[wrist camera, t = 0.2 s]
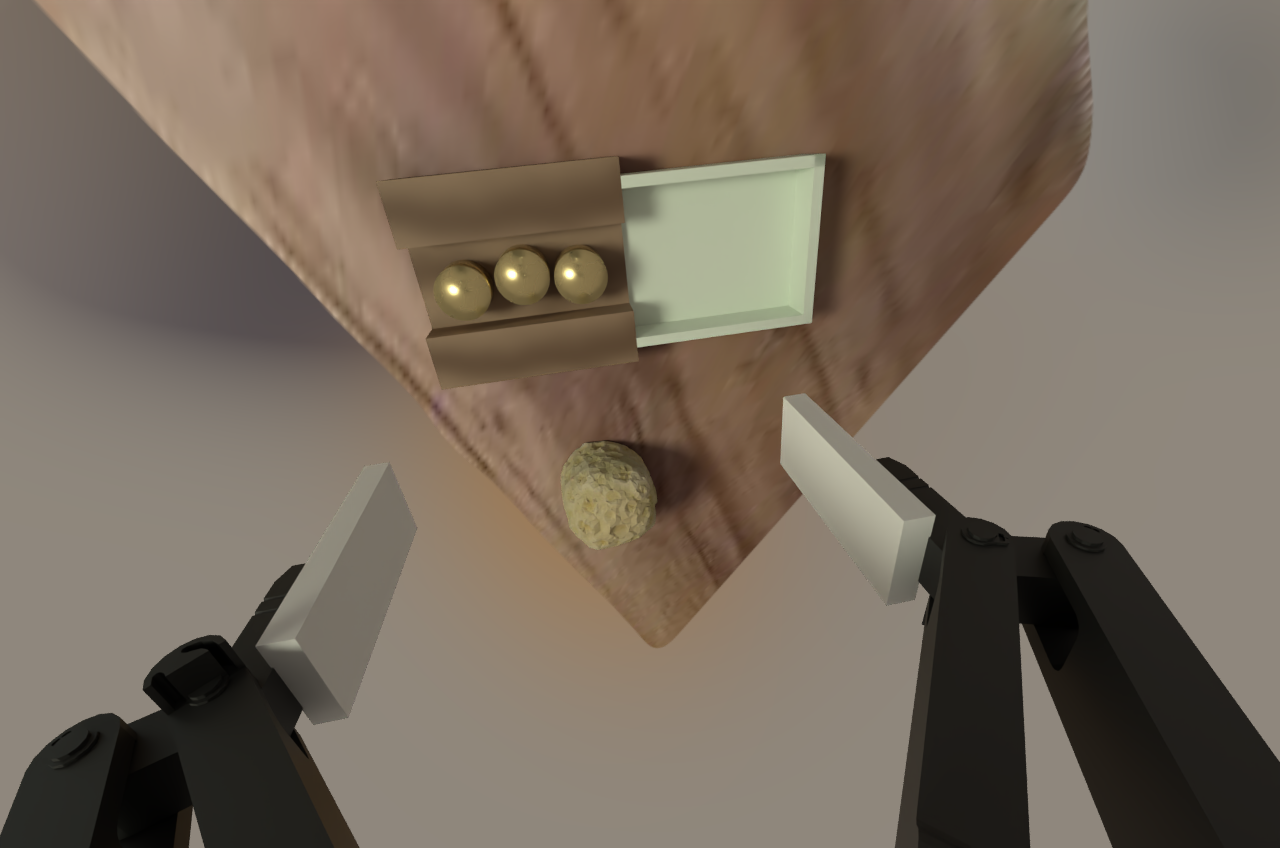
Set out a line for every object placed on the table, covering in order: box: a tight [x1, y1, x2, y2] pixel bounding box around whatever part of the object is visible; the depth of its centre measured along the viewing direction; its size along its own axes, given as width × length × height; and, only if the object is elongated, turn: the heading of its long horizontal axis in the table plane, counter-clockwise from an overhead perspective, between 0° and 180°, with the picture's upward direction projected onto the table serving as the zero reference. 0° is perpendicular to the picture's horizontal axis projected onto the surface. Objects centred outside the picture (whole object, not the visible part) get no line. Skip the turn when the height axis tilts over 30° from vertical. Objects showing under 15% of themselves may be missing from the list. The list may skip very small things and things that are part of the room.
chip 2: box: [494, 244, 550, 305], centre depth 37 cm, size 4×4×2 cm
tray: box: [620, 154, 826, 347], centre depth 39 cm, size 13×15×4 cm
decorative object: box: [561, 441, 657, 550], centre depth 48 cm, size 9×10×10 cm
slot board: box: [376, 156, 639, 389], centre depth 38 cm, size 15×16×4 cm
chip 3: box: [554, 244, 608, 304], centre depth 38 cm, size 4×4×2 cm
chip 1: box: [433, 260, 494, 321], centre depth 37 cm, size 4×4×2 cm
